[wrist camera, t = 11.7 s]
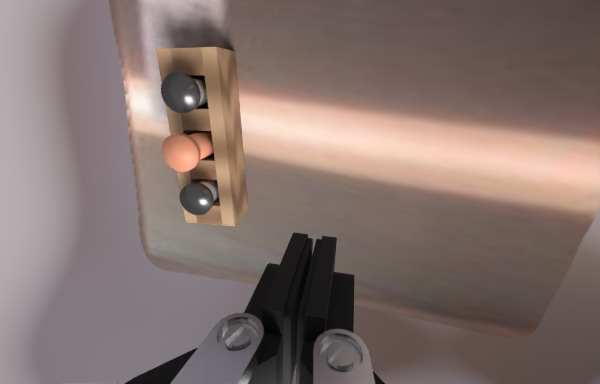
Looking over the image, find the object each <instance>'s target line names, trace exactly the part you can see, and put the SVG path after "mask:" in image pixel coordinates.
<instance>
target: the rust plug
mask: <svg viewBox="0 0 600 384" xmlns="http://www.w3.org/2000/svg"><path fill="white" fill-rule="evenodd" d="M213 153H214V150H213V141H212V133H211V131H201V132H198V133H194V134H191V135H186V134H175V135H171V136H169V137H167V138H166V139H165V141H164V143H163V145H162V154H163V157H164V159H165V161H166V163H167V164H168V165H169V166H170V167H171V168H173V169H174V170H177V171H180V172H186V171H189V170H191V169H193V168H195V167H196V166H197V165H198V163H199V161H200V160H201V159H203V158H205V157H207V156H209V155H211V154H213Z"/></svg>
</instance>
